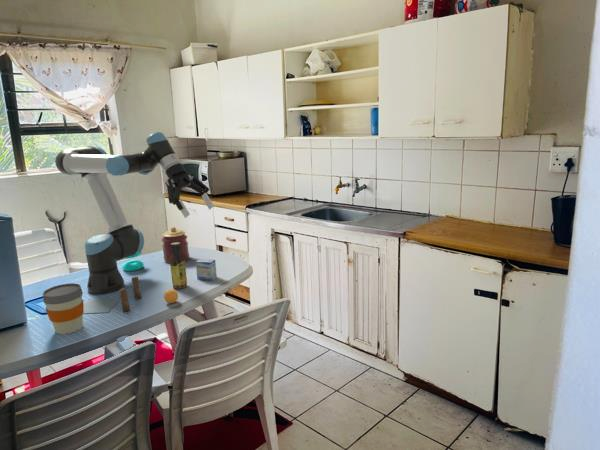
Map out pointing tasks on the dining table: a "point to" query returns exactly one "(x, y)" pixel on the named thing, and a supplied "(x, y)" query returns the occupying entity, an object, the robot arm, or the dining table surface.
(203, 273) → the medicine box
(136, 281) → the post
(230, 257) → the dining table surface
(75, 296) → the reusable coffee cup
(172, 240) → the canister
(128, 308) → the post
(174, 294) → the ball
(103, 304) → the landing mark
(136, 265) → the donuts
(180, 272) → the sauce bottle
